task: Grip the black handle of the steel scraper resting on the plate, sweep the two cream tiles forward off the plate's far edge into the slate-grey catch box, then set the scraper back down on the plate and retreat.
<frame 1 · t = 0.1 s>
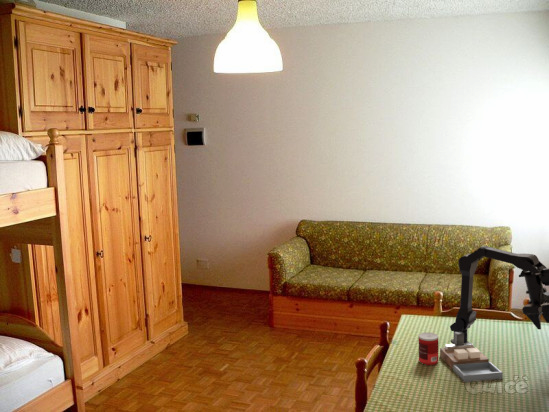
hand: (544, 326, 228), 15 cm above the table, tool pointing down, fingers open, 9 cm apart
canned food: (428, 362, 236), on the table
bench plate: (463, 361, 234), on the table
scraper: (459, 349, 238), point 3 cm above the table, touching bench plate
catch box: (477, 374, 223), on the table
tile b: (473, 356, 231), point 3 cm above the table, touching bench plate
tile a: (461, 357, 231), point 3 cm above the table, touching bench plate
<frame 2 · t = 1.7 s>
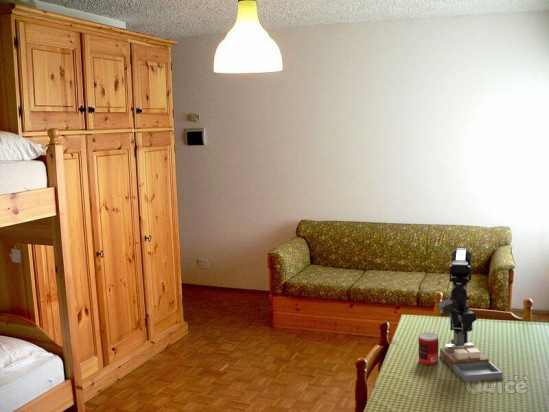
hand: (459, 330, 237), 12 cm above the table, tool pointing down, fingers open, 9 cm apart
nothing on the table moved.
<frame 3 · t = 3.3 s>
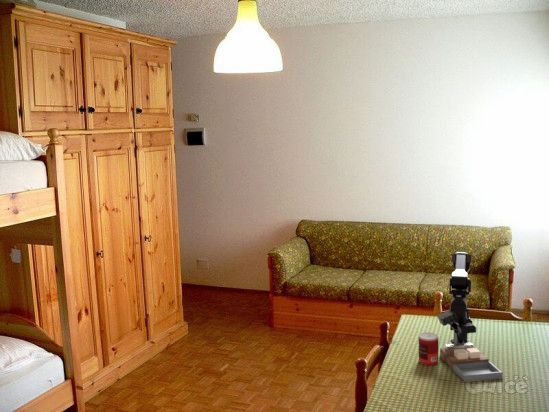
hand: (459, 342, 238), 7 cm above the table, tool pointing down, fingers closed on scraper, 2 cm apart
scraper: (459, 349, 238), point 3 cm above the table, touching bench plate, gripper
everything else where it was.
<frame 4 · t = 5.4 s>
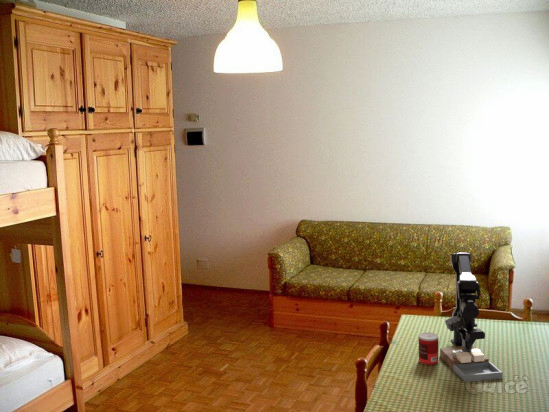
hand: (467, 348, 230), 7 cm above the table, tool pointing down, fingers closed on scraper, 2 cm apart
scraper: (466, 355, 231), point 4 cm above the table, touching gripper
tile b: (477, 359, 228), point 4 cm above the table
tile a: (464, 360, 228), point 4 cm above the table, touching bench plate
everything else where it was.
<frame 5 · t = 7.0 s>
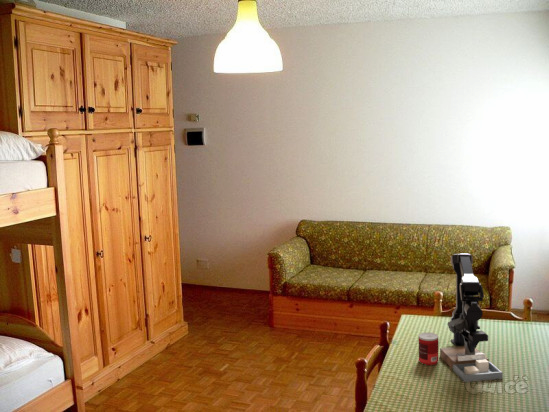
hand: (469, 350, 228), 7 cm above the table, tool pointing down, fingers closed on scraper, 3 cm apart
scraper: (470, 359, 228), point 4 cm above the table, tilted 8°, touching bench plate, gripper
tile b: (480, 364, 226), point 2 cm above the table, tilted 90°, touching catch box
tile a: (471, 368, 221), point 3 cm above the table, tilted 180°, touching catch box
everything else where it was.
when the fingers open (7 cm above the table, at t = 8.2 s): scraper moves 1 cm and tips over, resting on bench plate.
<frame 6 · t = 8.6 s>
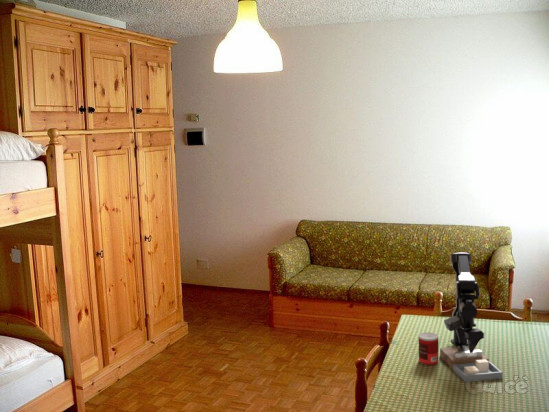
hand: (466, 348, 232), 7 cm above the table, tool pointing down, fingers open, 9 cm apart
scraper: (469, 355, 229), point 5 cm above the table, tilted 90°, touching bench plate
everything else where it was.
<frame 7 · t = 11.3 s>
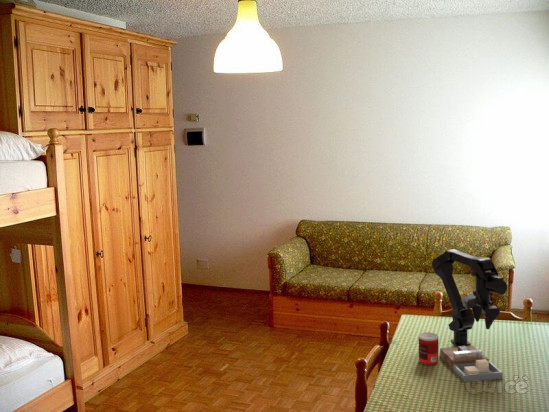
hand: (482, 325, 241), 12 cm above the table, tool pointing down, fingers open, 9 cm apart
nothing on the table moved.
at the end: tile a inside the target area on the catch box (2.7 cm from its centre), point 3.0 cm above the catch box's base; tile b inside the target area on the catch box (4.1 cm from its centre), point 2.5 cm above the catch box's base; scraper inside the target area (4.4 cm from its centre), point 4.7 cm above the table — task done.
